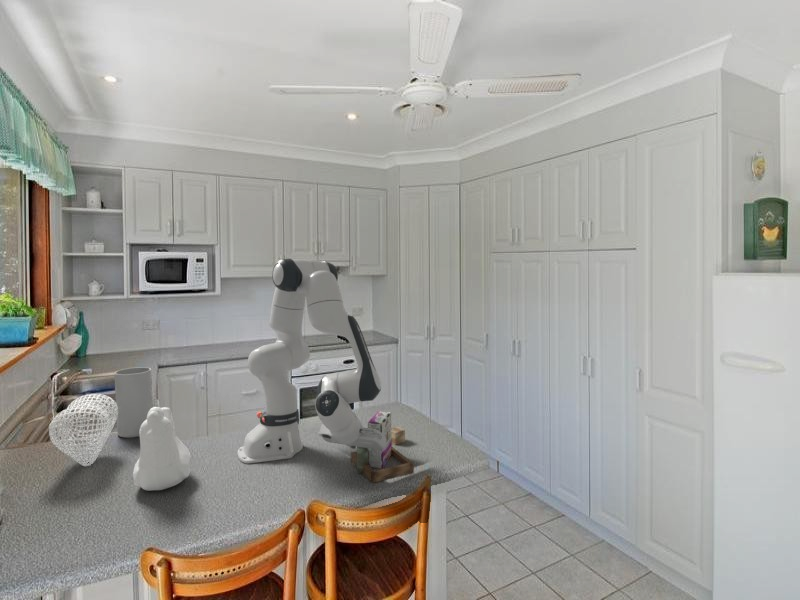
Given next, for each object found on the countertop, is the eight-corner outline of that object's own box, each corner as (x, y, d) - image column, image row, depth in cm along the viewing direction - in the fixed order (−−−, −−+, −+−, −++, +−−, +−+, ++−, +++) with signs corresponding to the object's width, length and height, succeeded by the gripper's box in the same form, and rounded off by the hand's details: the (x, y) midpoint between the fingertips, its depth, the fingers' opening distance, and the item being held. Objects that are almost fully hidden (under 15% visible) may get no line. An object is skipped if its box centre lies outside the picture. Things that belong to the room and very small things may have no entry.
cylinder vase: (161, 428, 186) (158, 368, 184) (137, 439, 174) (133, 375, 172) (135, 426, 189) (132, 366, 187) (110, 437, 177) (106, 373, 175)
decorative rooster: (179, 498, 131) (175, 413, 129) (121, 501, 129) (116, 415, 127) (207, 460, 155) (204, 389, 153) (159, 462, 154) (155, 390, 152)
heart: (74, 452, 163) (71, 391, 161) (124, 446, 168) (121, 387, 166) (44, 488, 136) (39, 416, 135) (104, 480, 142) (100, 410, 140)
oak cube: (395, 445, 164) (395, 432, 164) (387, 441, 168) (387, 429, 167) (405, 441, 167) (404, 430, 166) (397, 438, 170) (397, 426, 170)
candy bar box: (378, 457, 157) (377, 410, 156) (392, 458, 156) (391, 411, 155) (367, 471, 147) (367, 421, 145) (382, 473, 145) (382, 422, 144)
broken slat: (368, 454, 160) (368, 449, 160) (364, 450, 164) (364, 445, 163) (406, 445, 167) (406, 441, 167) (401, 442, 171) (401, 438, 170)
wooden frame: (368, 483, 138) (368, 442, 137) (347, 461, 153) (347, 424, 152) (413, 472, 145) (413, 432, 144) (389, 452, 161) (388, 416, 160)
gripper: (381, 422, 134) (394, 442, 144) (321, 414, 142) (337, 434, 151) (375, 442, 130) (389, 461, 140) (313, 433, 138) (330, 452, 148)
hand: (361, 447), depth 146 cm, fingers open, 4 cm apart
